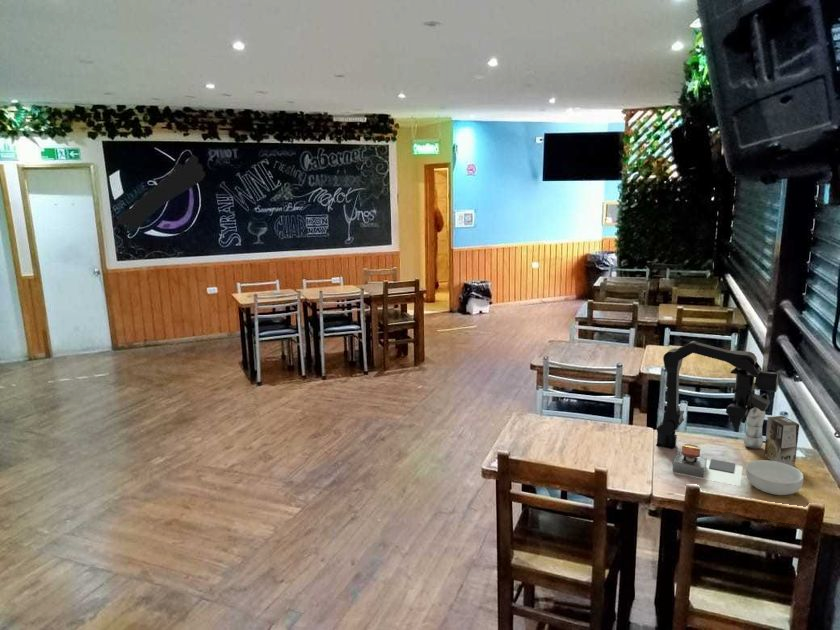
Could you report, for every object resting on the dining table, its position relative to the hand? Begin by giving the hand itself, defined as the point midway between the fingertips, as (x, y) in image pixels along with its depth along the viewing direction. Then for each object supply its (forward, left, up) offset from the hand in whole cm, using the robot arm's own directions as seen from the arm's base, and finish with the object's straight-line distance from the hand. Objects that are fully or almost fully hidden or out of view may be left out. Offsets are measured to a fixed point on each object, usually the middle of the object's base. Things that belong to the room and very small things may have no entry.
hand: (739, 426), depth 216 cm
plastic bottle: (+5, +17, -14) cm, 23 cm away
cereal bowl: (+12, -18, -14) cm, 26 cm away
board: (-8, -13, -14) cm, 21 cm away
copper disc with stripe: (-14, -16, -14) cm, 25 cm away
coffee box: (+14, +8, -14) cm, 21 cm away
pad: (-4, -8, -14) cm, 16 cm away
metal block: (-14, -16, -14) cm, 25 cm away
